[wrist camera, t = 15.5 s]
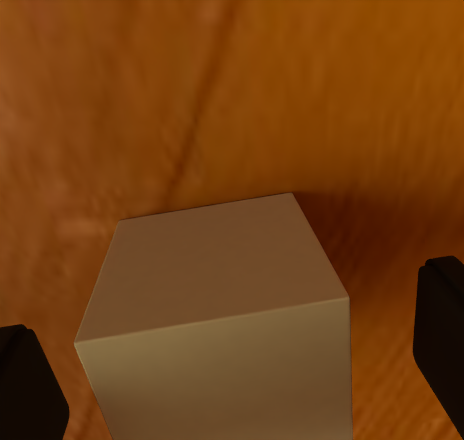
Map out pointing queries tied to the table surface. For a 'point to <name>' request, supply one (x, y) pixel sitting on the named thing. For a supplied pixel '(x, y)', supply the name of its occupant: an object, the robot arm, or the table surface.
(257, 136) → the table surface
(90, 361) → the block
